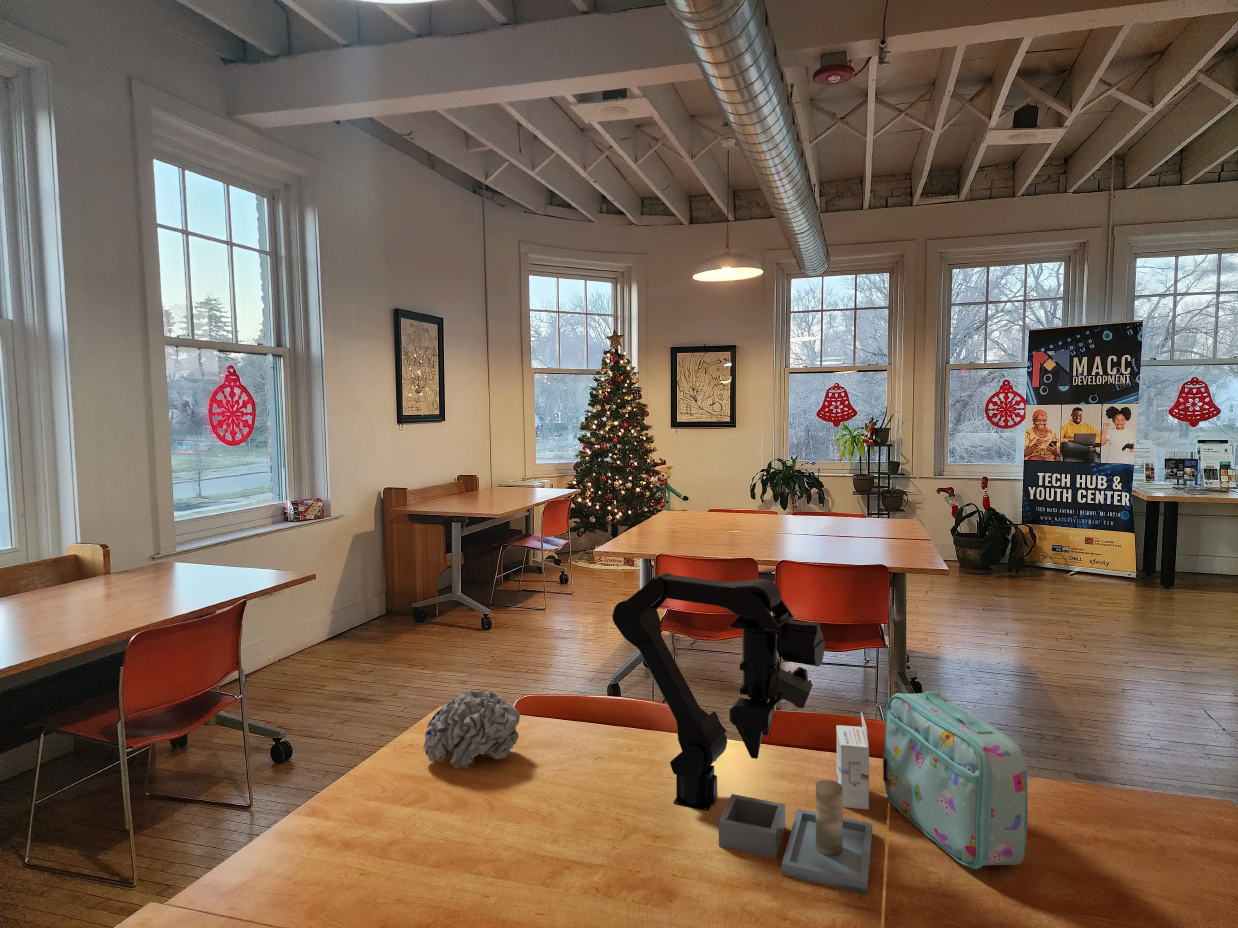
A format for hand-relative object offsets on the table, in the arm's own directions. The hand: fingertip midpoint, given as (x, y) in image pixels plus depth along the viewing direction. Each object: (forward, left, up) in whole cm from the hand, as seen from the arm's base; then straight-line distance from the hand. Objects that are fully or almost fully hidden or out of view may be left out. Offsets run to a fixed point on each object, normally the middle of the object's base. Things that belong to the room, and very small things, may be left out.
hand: (759, 745), depth 118 cm
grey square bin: (0, -6, -13) cm, 14 cm away
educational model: (-59, +1, -13) cm, 60 cm away
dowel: (+12, -6, -12) cm, 18 cm away
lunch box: (+29, +8, -13) cm, 33 cm away
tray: (+12, -6, -13) cm, 19 cm away
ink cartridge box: (+14, +13, -13) cm, 23 cm away
